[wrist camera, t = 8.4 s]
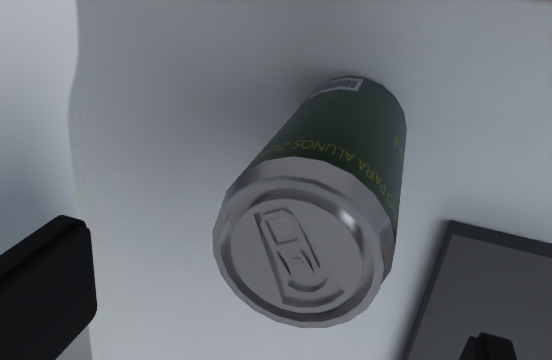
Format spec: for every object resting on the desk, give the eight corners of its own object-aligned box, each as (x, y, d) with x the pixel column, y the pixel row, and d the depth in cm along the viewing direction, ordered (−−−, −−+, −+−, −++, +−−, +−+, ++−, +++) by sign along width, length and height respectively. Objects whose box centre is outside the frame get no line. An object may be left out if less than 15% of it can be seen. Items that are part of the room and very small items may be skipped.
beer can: (285, 94, 23) (173, 200, 13) (386, 55, 21) (350, 144, 10) (323, 184, 25) (252, 343, 14) (421, 156, 22) (420, 322, 12)
